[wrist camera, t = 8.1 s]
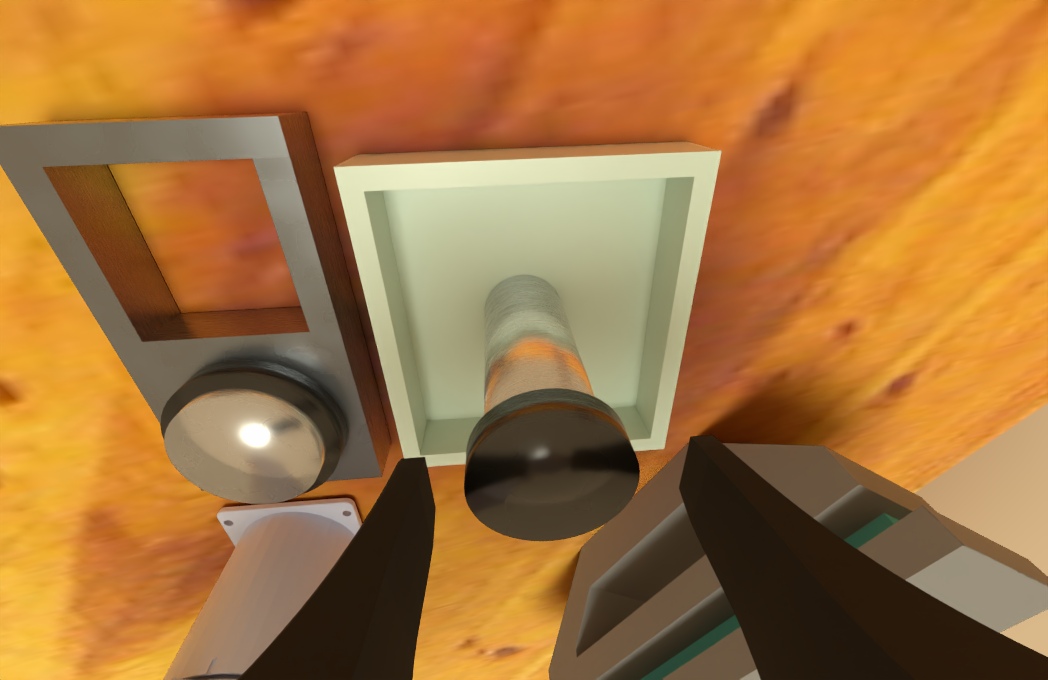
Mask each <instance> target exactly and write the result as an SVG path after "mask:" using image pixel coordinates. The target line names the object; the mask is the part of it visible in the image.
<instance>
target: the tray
mask: <svg viewBox="0 0 1048 680" xmlns="http://www.w3.org/2000/svg"><path fill="white" fill-rule="evenodd" d="M721 152H722V151H720V150H717V149H713V148H710V147H706V146H702V145H699V144H695V143H691V142H688V141H677V142H653V143H628V144H603V145H578V146H554V147H529V148H504V149H480V150H455V151H430V152H406V153H381V154H357V155H356V156H354V157H352V158H350V159H348V160H346V161H344V162H342V163H340V164H338V165H336V166H335V167H334V171H335V175H336V180H337V184H338V188H339V192H340V196H341V200H342V204H343V208H344V213H345V217H346V221H347V225H348V229H349V233H350V237H351V241H352V246H353V250H354V254H355V258H356V262H357V266H358V270H359V274H360V279H361V283H362V287H363V291H364V295H365V299H366V303H367V307H368V312H369V316H370V320H371V324H372V328H373V332H374V336H375V340H376V345H377V349H378V353H379V357H380V361H381V365H382V369H383V373H384V378H385V382H386V386H387V390H388V394H389V398H390V402H391V407H392V411H393V415H394V419H395V423H396V427H397V431H398V435H399V440H400V444H401V448H402V452H403V456H404V458H416V457H425V459H426V464H427V467H433V466H446V465H459V464H466V449H467V443H468V439H469V436H470V434H471V432H472V430H473V428H474V427H475V425H476V424H477V422H478V421H479V420H480V419H481V418H482V417H483V416H484V367H485V304H486V300H487V298H488V296H489V294H490V292H491V291H492V290H493V288H494V287H495V286H496V285H497V284H499V283H500V282H501V281H503V280H505V279H507V278H509V277H512V276H516V275H533V276H537V277H540V278H542V279H544V280H546V281H547V282H549V283H550V284H551V285H552V286H553V287H554V288H555V289H556V291H557V292H558V294H559V297H560V299H561V302H562V305H563V308H564V311H565V313H566V316H567V319H568V322H569V325H570V328H571V331H572V333H573V336H574V339H575V342H576V345H577V348H578V351H579V354H580V356H581V359H582V362H583V365H584V368H585V371H586V374H587V376H588V379H589V382H590V385H591V388H592V391H593V394H594V396H595V397H596V398H598V399H600V400H602V401H603V402H605V403H606V404H607V405H609V406H610V407H611V408H612V409H613V410H614V411H615V412H616V413H617V415H618V416H619V418H620V419H621V421H622V423H623V425H624V427H625V430H626V432H627V435H628V437H629V440H630V442H631V445H632V447H633V450H634V451H644V450H657V449H664V447H665V442H666V436H667V431H668V426H669V421H670V416H671V411H672V405H673V400H674V395H675V390H676V385H677V379H678V374H679V369H680V364H681V359H682V354H683V348H684V343H685V338H686V333H687V328H688V322H689V317H690V312H691V307H692V302H693V297H694V291H695V286H696V281H697V276H698V271H699V265H700V260H701V255H702V250H703V245H704V240H705V234H706V229H707V224H708V219H709V214H710V209H711V203H712V198H713V193H714V188H715V183H716V177H717V172H718V167H719V162H720V157H721Z"/></svg>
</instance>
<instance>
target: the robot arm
mask: <svg viewBox="0 0 1048 680" xmlns="http://www.w3.org/2000/svg"><path fill="white" fill-rule="evenodd" d="M679 490H680V493H681V496H682V499H683V502H684V505H685V508H686V511H687V514H688V516H689V519H690V522H691V525H692V527H693V529H694V531H695V533H696V535H697V537H698V539H699V541H700V544H701V546H702V548H703V550H704V552H705V554H706V556H707V558H708V560H709V562H710V564H711V566H712V568H713V570H714V572H715V574H716V576H717V578H718V580H719V582H720V584H721V586H722V588H723V591H724V593H725V595H726V597H727V599H728V601H729V603H730V605H731V607H732V609H733V611H734V613H735V616H736V618H737V620H738V622H739V625H740V627H741V629H742V632H743V635H744V637H745V640H746V642H747V645H748V648H749V650H750V653H751V655H752V658H753V660H754V663H755V666H756V668H757V671H758V674H759V676H760V679H761V680H1048V657H1046V656H1044V655H1042V654H1040V653H1038V652H1036V651H1034V650H1032V649H1030V648H1028V647H1026V646H1023V645H1022V644H1020V643H1017V642H1016V641H1014V640H1012V639H1010V638H1008V637H1006V636H1004V635H1002V634H1000V633H998V632H997V631H995V630H993V629H991V628H989V627H987V626H985V625H983V624H982V623H980V622H978V621H976V620H974V619H972V618H970V617H968V616H967V615H965V614H963V613H961V612H959V611H958V610H956V609H954V608H952V607H950V606H949V605H947V604H945V603H943V602H942V601H940V600H938V599H936V598H935V597H933V596H931V595H929V594H928V593H926V592H924V591H923V590H921V589H919V588H918V587H916V586H914V585H913V584H911V583H909V582H908V581H906V580H904V579H903V578H901V577H899V576H898V575H896V574H894V573H893V572H891V571H890V570H888V569H887V568H885V567H883V566H882V565H880V564H879V563H877V562H876V561H874V560H873V559H871V558H870V557H868V556H867V555H865V554H864V553H862V552H861V551H859V550H858V549H856V548H855V547H853V546H852V545H850V544H849V543H847V542H846V541H844V540H843V539H841V538H840V537H838V536H837V535H836V534H834V533H833V532H831V531H830V530H829V529H827V528H826V527H825V526H823V525H822V524H821V523H819V522H818V521H817V520H815V519H814V518H813V517H811V516H810V515H809V514H807V513H806V512H805V511H803V510H802V509H801V508H799V507H798V506H797V505H796V504H794V503H793V502H792V501H790V500H789V499H788V498H787V497H785V496H784V495H783V494H782V493H780V492H779V491H778V490H777V489H776V488H774V487H773V486H772V485H771V484H769V483H768V482H767V481H766V480H765V479H763V478H762V477H761V476H760V475H759V474H758V473H756V472H755V471H754V470H753V469H752V468H750V467H749V466H748V465H747V464H746V463H745V462H743V461H742V460H741V459H740V458H739V457H738V456H736V455H735V454H734V453H733V452H732V451H731V450H730V449H728V448H727V447H726V446H725V445H724V444H723V443H721V442H720V441H719V440H718V439H717V438H715V437H714V436H713V435H706V436H693V437H690V441H689V446H688V450H687V454H686V459H685V463H684V467H683V472H682V476H681V480H680V485H679ZM217 518H218V520H219V521H220V523H221V525H222V526H223V528H224V529H225V531H226V533H227V534H228V536H229V537H230V539H231V541H232V542H233V544H234V546H235V549H234V551H233V553H232V555H231V556H230V558H229V560H228V562H227V564H226V566H225V567H224V569H223V571H222V573H221V575H220V577H219V578H218V580H217V582H216V584H215V586H214V587H213V589H212V591H211V593H210V595H209V597H208V598H207V600H206V602H205V604H204V606H203V608H202V609H201V611H200V613H199V615H198V617H197V619H196V620H195V622H194V624H193V626H192V628H191V630H190V631H189V633H188V635H187V637H186V639H185V641H184V642H183V644H182V646H181V648H180V650H179V651H178V653H177V655H176V657H175V659H174V661H173V662H172V664H171V666H170V668H169V670H168V672H167V673H166V675H165V677H164V679H163V680H412V678H413V667H414V657H415V650H416V643H417V636H418V630H419V625H420V619H421V613H422V608H423V602H424V596H425V590H426V585H427V579H428V573H429V567H430V561H431V555H432V549H433V539H434V524H435V503H434V498H433V493H432V488H431V484H430V479H429V474H428V469H427V464H426V459H425V457H416V458H403V459H401V460H400V461H399V462H398V464H397V465H396V467H395V469H394V471H393V473H392V475H391V477H390V479H389V480H388V482H387V484H386V486H385V488H384V489H383V491H382V493H381V494H380V496H379V498H378V499H377V501H376V503H375V505H374V506H373V508H372V509H371V511H370V513H369V514H368V516H367V517H366V519H365V520H364V522H363V524H362V522H361V519H360V516H359V513H358V510H357V507H356V505H355V502H354V501H353V500H352V499H350V498H336V499H323V500H310V501H298V502H285V503H272V504H259V505H247V506H234V507H224V508H221V509H220V510H219V512H218V514H217Z"/></svg>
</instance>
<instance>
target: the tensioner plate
mask: <svg viewBox="0 0 1048 680" xmlns="http://www.w3.org/2000/svg"><path fill="white" fill-rule="evenodd" d="M250 158H253V162H254V165H255V168H256V171H257V174H258V177H259V180H260V183H261V186H262V189H263V192H264V195H265V198H266V201H267V204H268V207H269V210H270V213H271V216H272V219H273V222H274V225H275V228H276V231H277V234H278V237H279V240H280V243H281V246H282V249H283V252H284V255H285V258H286V261H287V264H288V267H289V270H290V273H291V276H292V279H293V282H294V286H295V289H296V292H297V295H298V298H299V301H300V304H301V307H287V308H269V309H252V310H234V311H216V312H199V313H180V311H179V309H178V307H177V305H176V303H175V301H174V299H173V297H172V295H171V293H170V291H169V289H168V287H167V285H166V283H165V281H164V279H163V277H162V275H161V273H160V271H159V269H158V267H157V265H156V263H155V261H154V259H153V257H152V255H151V253H150V251H149V249H148V247H147V245H146V243H145V241H144V239H143V237H142V235H141V233H140V231H139V229H138V227H137V225H136V223H135V221H134V219H133V217H132V215H131V213H130V211H129V209H128V207H127V205H126V203H125V201H124V199H123V197H122V195H121V193H120V191H119V189H118V187H117V185H116V183H115V181H114V179H113V177H112V175H111V173H110V171H109V169H108V167H107V165H106V164H126V163H151V162H176V161H200V160H225V159H250ZM0 165H1V166H2V168H3V170H4V171H5V173H6V174H7V176H8V178H9V179H10V181H11V183H12V184H13V186H14V187H15V189H16V191H17V192H18V194H19V196H20V197H21V199H22V200H23V202H24V204H25V205H26V207H27V208H28V210H29V212H30V213H31V215H32V217H33V218H34V220H35V221H36V223H37V225H38V226H39V228H40V230H41V231H42V233H43V234H44V236H45V238H46V239H47V241H48V243H49V244H50V246H51V247H52V249H53V251H54V252H55V254H56V255H57V257H58V259H59V260H60V262H61V264H62V265H63V267H64V268H65V270H66V272H67V273H68V275H69V277H70V278H71V280H72V281H73V283H74V285H75V286H76V288H77V290H78V291H79V293H80V294H81V296H82V298H83V299H84V301H85V302H86V304H87V306H88V307H89V309H90V311H91V312H92V314H93V315H94V317H95V319H96V320H97V322H98V324H99V325H100V327H101V328H102V330H103V332H104V333H105V335H106V336H107V338H108V340H109V341H110V343H111V345H112V346H113V348H114V349H115V351H116V353H117V354H118V356H119V358H120V359H121V361H122V362H123V364H124V366H125V367H126V369H127V371H128V372H129V374H130V375H131V377H132V379H133V380H134V382H135V383H136V385H137V387H138V388H139V390H140V392H141V393H142V395H143V396H144V398H145V400H146V401H147V403H148V405H149V406H150V408H151V409H152V411H153V413H154V414H155V416H156V418H157V419H158V421H159V422H160V425H161V432H162V435H163V438H164V443H165V449H166V452H167V455H168V457H169V459H170V461H171V462H172V464H173V465H174V466H175V468H176V469H177V470H178V471H179V472H180V473H181V474H182V475H183V476H184V477H185V478H186V479H188V480H189V481H190V482H192V483H193V484H195V485H196V486H198V487H199V488H200V489H201V490H202V491H204V490H205V491H207V492H209V493H211V494H213V495H216V496H219V497H222V498H225V499H228V500H232V501H237V502H242V503H250V504H270V503H278V502H282V501H287V500H290V499H293V498H295V497H297V496H299V495H301V494H303V493H306V492H309V491H311V490H313V489H315V488H317V487H318V486H320V485H322V484H323V483H324V482H325V481H335V480H348V479H361V478H374V477H382V475H383V471H384V468H385V464H386V460H387V457H388V453H389V449H390V445H391V439H390V435H389V431H388V427H387V423H386V419H385V415H384V411H383V407H382V404H381V400H380V396H379V392H378V388H377V384H376V380H375V376H374V372H373V369H372V365H371V361H370V357H369V353H368V349H367V345H366V341H365V337H364V333H363V330H362V326H361V322H360V318H359V314H358V310H357V306H356V302H355V298H354V294H353V291H352V287H351V283H350V279H349V275H348V271H347V267H346V263H345V259H344V256H343V252H342V248H341V244H340V240H339V236H338V232H337V228H336V224H335V220H334V217H333V213H332V209H331V205H330V201H329V197H328V193H327V189H326V185H325V181H324V178H323V174H322V170H321V166H320V162H319V158H318V154H317V150H316V146H315V143H314V139H313V135H312V131H311V127H310V123H309V119H308V115H307V112H291V113H263V114H235V115H207V116H178V117H150V118H122V119H94V120H66V121H44V122H32V123H19V124H6V125H0Z"/></svg>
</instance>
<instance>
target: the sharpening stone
mask: <svg viewBox="0 0 1048 680" xmlns="http://www.w3.org/2000/svg"><path fill="white" fill-rule="evenodd" d="M723 444H724V445H725V446H726V447H727V448H728V449H730V450H731V451H732V452H733V453H734V454H735V455H736V456H738V457H739V458H740V459H741V460H742V461H743V462H745V463H746V464H747V465H748V466H749V467H750V468H752V469H753V470H754V471H755V472H756V473H758V474H759V475H760V476H761V477H762V478H763V479H765V480H766V481H767V482H768V483H769V484H771V485H772V486H773V487H774V488H776V489H777V490H778V491H779V492H780V493H782V494H783V495H784V496H785V497H787V498H788V499H789V500H790V501H792V502H793V503H794V504H796V505H797V506H798V507H799V508H801V509H802V510H803V511H805V512H806V513H807V514H809V515H810V516H811V517H813V518H814V519H815V520H817V521H818V522H819V523H821V524H822V525H823V526H825V527H826V528H827V529H829V530H830V531H831V532H833V533H834V534H836V535H837V536H838V537H840V538H841V539H843V540H844V541H846V542H847V543H849V544H850V545H852V546H853V547H855V548H856V549H858V550H859V551H861V552H862V553H864V554H865V555H867V556H868V557H870V558H871V559H873V560H874V561H876V562H877V563H879V564H880V565H882V566H883V567H885V568H887V569H888V570H890V571H891V572H893V573H894V574H896V575H898V576H899V577H901V578H903V579H904V580H906V581H908V582H909V583H911V584H913V585H914V586H916V587H918V588H919V589H921V590H923V591H924V592H926V593H928V594H929V595H931V596H933V597H935V598H936V599H938V600H940V601H942V602H943V603H945V604H947V605H949V606H950V607H952V608H954V609H956V610H958V611H959V612H961V613H963V614H965V615H967V616H968V617H970V618H972V619H974V620H976V621H978V622H980V623H982V624H983V625H985V626H987V627H989V628H991V629H993V630H995V631H997V632H998V633H1000V632H1002V631H1004V630H1006V629H1008V628H1010V627H1012V626H1014V625H1016V624H1018V623H1020V622H1022V621H1024V620H1026V619H1029V618H1030V617H1033V616H1034V615H1037V614H1039V613H1041V612H1042V611H1045V610H1047V609H1048V577H1047V576H1046V575H1045V574H1044V573H1043V572H1042V571H1041V570H1039V569H1038V568H1037V567H1036V566H1035V565H1034V564H1033V563H1031V562H1030V561H1029V560H1028V559H1026V558H1024V557H1022V556H1020V555H1019V554H1017V553H1015V552H1013V551H1011V550H1009V549H1007V548H1005V547H1003V546H1001V545H999V544H997V543H995V542H993V541H991V540H989V539H988V538H985V537H984V536H982V535H980V534H978V533H976V532H974V531H972V530H970V529H968V528H966V527H964V526H962V525H960V524H958V523H957V522H955V521H953V520H951V519H949V518H947V517H945V516H943V515H941V514H939V513H937V512H936V511H935V510H934V509H933V508H932V507H931V506H929V504H928V503H926V501H924V500H923V499H922V498H921V497H920V496H917V495H916V494H914V493H912V492H910V491H908V490H906V489H904V488H902V487H901V486H899V485H897V484H895V483H893V482H891V481H889V480H887V479H885V478H883V477H882V476H880V475H878V474H876V473H874V472H872V471H870V470H868V469H866V468H864V467H863V466H861V465H859V464H857V463H855V462H853V461H851V460H849V459H847V458H845V457H844V456H842V455H840V454H838V453H836V452H834V451H832V450H830V449H828V448H826V447H825V446H814V445H775V444H736V443H723ZM688 446H689V443H688V444H687V445H686V446H685V447H684V448H683V449H682V450H681V451H680V452H679V453H678V454H677V455H675V456H674V457H673V458H672V459H671V460H670V461H669V462H668V463H667V464H666V465H665V466H664V467H663V468H662V469H661V470H660V471H659V472H658V473H657V474H656V475H655V476H654V477H653V478H652V479H651V480H650V481H649V482H648V483H647V484H646V485H645V486H644V487H643V488H642V489H641V490H640V491H639V492H638V493H637V494H636V495H635V496H634V497H633V498H632V499H631V500H630V502H629V503H628V504H627V505H626V507H625V508H624V509H623V510H622V511H621V512H620V513H619V514H618V515H617V516H615V517H614V518H613V519H611V520H610V521H608V522H607V523H606V524H605V525H604V526H603V527H602V528H601V529H600V530H599V531H598V532H597V533H596V534H595V535H594V536H593V537H592V538H591V539H590V540H589V541H588V542H587V543H586V544H585V545H584V546H583V547H582V548H581V552H580V556H579V559H578V563H577V567H576V570H575V574H574V578H573V582H572V585H571V589H570V593H569V596H568V600H567V604H566V608H565V611H564V615H563V619H562V622H561V626H560V630H559V634H558V637H557V641H556V645H555V649H554V652H553V656H552V660H551V663H550V667H549V679H550V680H761V679H760V676H759V674H758V671H757V668H756V666H755V663H754V660H753V658H752V655H751V653H750V650H749V648H748V645H747V642H746V640H745V637H744V635H743V632H742V629H741V627H740V625H739V622H738V620H737V618H736V616H735V613H734V611H733V609H732V607H731V605H730V603H729V601H728V599H727V597H726V595H725V593H724V591H723V588H722V586H721V584H720V582H719V580H718V578H717V576H716V574H715V572H714V570H713V568H712V566H711V564H710V562H709V560H708V558H707V556H706V554H705V552H704V550H703V548H702V546H701V544H700V541H699V539H698V537H697V535H696V533H695V531H694V529H693V527H692V525H691V522H690V519H689V516H688V514H687V511H686V508H685V505H684V502H683V499H682V496H681V493H680V490H679V485H680V480H681V476H682V472H683V467H684V463H685V459H686V454H687V450H688Z"/></svg>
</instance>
